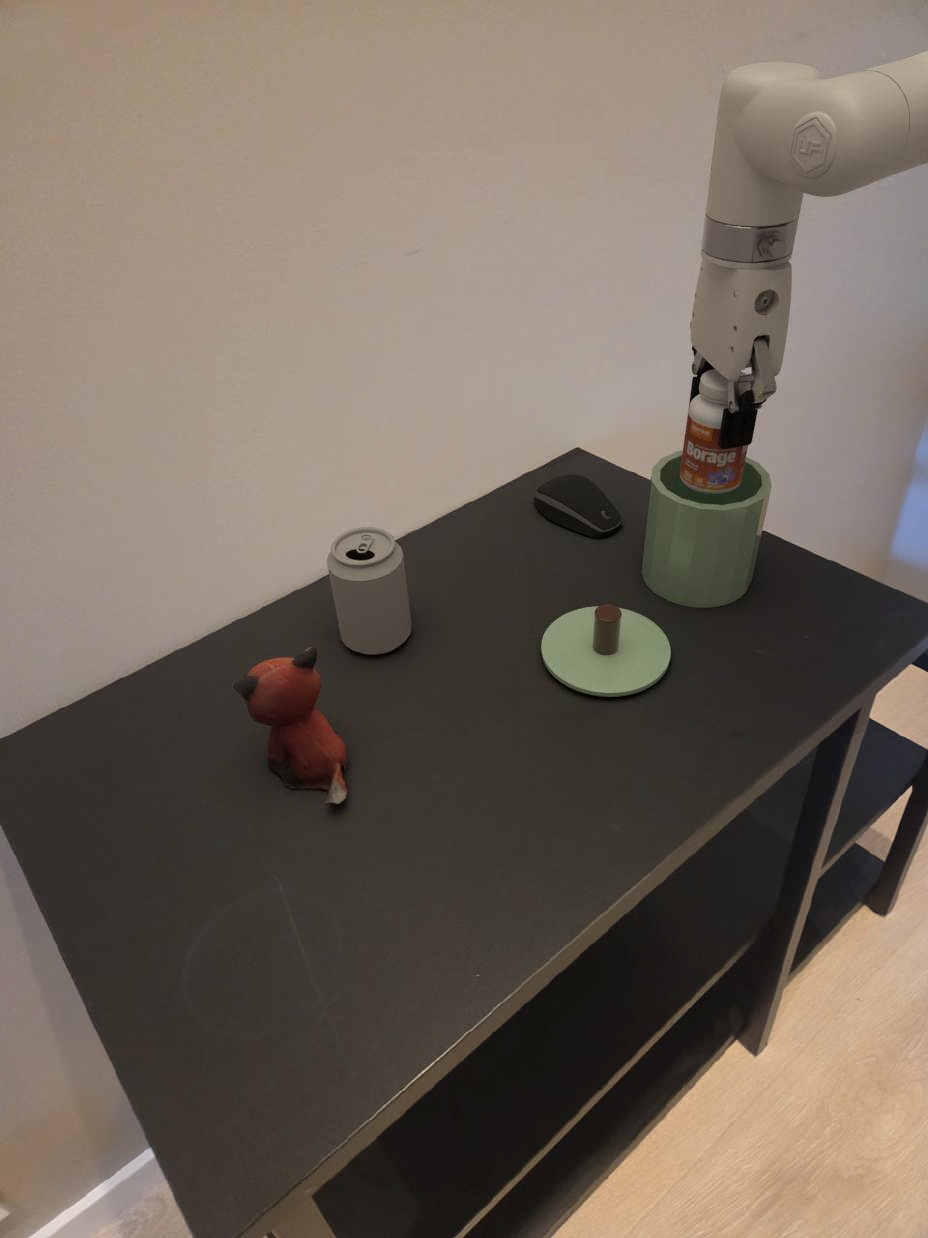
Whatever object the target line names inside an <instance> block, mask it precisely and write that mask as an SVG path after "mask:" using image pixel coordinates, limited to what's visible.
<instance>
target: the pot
mask: <svg viewBox="0 0 928 1238" xmlns="http://www.w3.org/2000/svg"><path fill="white" fill-rule="evenodd" d="M682 453H683V449H682V450H677V451H674V452H672V453H670V454H668V455H666V456H663V457H661V458H659V460H658V461H657V462H656V463H655V465H654V466H653V467H651V473H650V483H649V493H648V494H649V495H648V500H647V501H648V503H647V513H646V519H645V520H646V522H645V530H644V540H643V549H642V558H641V576H642V579H643V582H644V584H645V585H646V586H647V588H648V589H650V591H651V592H653V593H654V594H655V595H657V596H659V598H662V599H663V600H665V601H668V602H670V603H673V604H676V605H679V606H683V607H688V608H697V609H709V608H710V609H711V608H717V607H722V606H727V605H729V604H732V603H734V602H736V601H738V600H739V599H741V598H742V597H743V596H744V595H745V594H746V593H747V591H748V590H749V589H750V585H751V583H752V581H753V576H754V571H755V567H756V563H757V557H758V552H759V549H760V543H761V539H762V533H763V530H764V529H763V528H764V524H765V520H766V515H767V510H768V506H769V501H770V496H771V492H772V488H773V487H772V481H771V475H770V473H769V471H767V470H766V469H765V468H764V467H763V466H762V465H761V464H760V462H758V461H756V460H754V459H752V458H749V457H748V456H746V460H745V465H744V470H743V476H742V480H741V483H740V485H739V486H738V487H737V488H736V489H734V490H733V491H730V492H727V493H723V494H705V493H700V492H696V491H694V490H692V489H690V488H688V487H687V486H686V485H685V484H684V483H683V482H682V480H681V478H680V467H681V460H682Z"/></svg>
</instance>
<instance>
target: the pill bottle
mask: <svg viewBox="0 0 928 1238" xmlns="http://www.w3.org/2000/svg"><path fill="white" fill-rule="evenodd" d="M744 374H746V373H745V372H743V371H741V374H740V375H744ZM747 390H750V382H743V383H739V396H740V395H741V394H743V393H744V392H745V391H747ZM699 392H700V394H699V395H697V396H696V397H695V398H694V399H693V400H692V401H691V403H690V405H689V404H688V409H689V410H688V411H687V416H686V425H685V432H684V437H683V439H684V440H683V445H682V450H683V453H682V460H681V467H680V478H681V480H682V482H683V483H684V484H685V485H686V486H687V487H688V488H690V489H692V490H694V491H696V492H700V493H705V494H723V493H727V492H730V491H733V490H734V489H736V488H737V487H738V486H739V485H740V483H741V480H742V476H743V470H744V465H745V460H746V457H747V454H748V449H749V445H747V446H740V447H734V448H728V449H721V448H720V447H719V445H718V441H719V435H720V428H721V422H722V415H723V409H724V408H728V383H727V378H725V377H724V376H723V375H722V374H720V373H719V372H718V371H717V370H716V369H713V370H709V371H707V372H705V373H704V374H703V375H702V376H701V379H700V385H699Z"/></svg>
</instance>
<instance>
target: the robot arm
mask: <svg viewBox="0 0 928 1238" xmlns="http://www.w3.org/2000/svg"><path fill="white" fill-rule="evenodd" d="M711 156H712V157H711V164H710V171H709V172H710V174H709V181H708V182H709V183H708V188H707V189H708V190H707V198H706V206H705V213H704V221H703V222H704V223H703V228H702V229H703V230H702V231H703V232H702V239H701V248H700V257H701V262H700V267H699V273H698V277H697V282H696V287H695V292H694V300H693V306H692V312H691V321H690V322H689V328H690V342H691V344H692V345H691V351H692V353H693V361H692V364H691V373H692V375H693V376H692V378H691V385H690V395H689V403H688V406H689V405H690V403H691V401H692V400H693V399H694V398H695V397H696V396H697V395H699V394H700V392H699V385H700V379H701V376H702V375H703V374H704V373H705V372H707V371H709V370H713V369H716V370H717V371H718V372H719V373H720V374H722V375H723V376H724V377H725V378H727V383H728V408H724V409H723V415H722V422H721V428H720V435H719V441H718V445H719V447H720V448H721V449H728V448H734V447H740V446H747V445H748V446H750V445H751V444H752V442H753V438H754V434H755V427H756V423H757V416H758V412H759V410H760V409H762V407H763V404H764V403H765V402H766V401H767V400H768V399H769V398H770V397H772V396H773V395H774V394H776V392H777V389H778V388H777V382H776V378H775V377H777V376H778V375H779V374H780V372H781V371H782V367H783V362H784V356H785V349H786V343H787V338H788V337H787V336H788V330H789V323H790V322H789V321H790V313H791V304H792V303H791V302H792V283H793V271H792V270H793V269H792V267H793V266H792V263H791V262H790V261H791V260H792V257H793V251H794V246H795V243H796V242H795V240H796V236H797V231H798V225H799V220H800V215H801V210H802V203H803V200H804V199H803V198H804V195H805V194H806V195H810V196H813V197H819V198H831V197H837V196H842V195H846V194H848V193H851V192H853V191H856V190H859V189H862V188H864V187H866V186H869V185H871V184H874V183H875V182H878V181H881V180H883V179H886V178H889V177H891V176H893V175H897V174H900V173H903V172H906V171H909V170H910V169H915V168H917V167H919V166H923V165H926V164H928V50H926V51H923V52H920V53H918V54H915V55H912V56H909V57H906V58H903V59H900V60H899V59H898V60H895V61H892V62H888V63H883V64H880V65H876V66H872V67H869V68H866V69H862V70H859V71H855V72H851V73H848V74H843V75H839V76H835V77H831V78H824V79H823V78H822V76H821V73H820V72H819V71H818V70H817V69H816V68H815V67H813V66H810V65H808V64H805V63H801V62H800V63H799V62H790V61H765V62H755V63H748V64H744V65H741V66H739V67H736V68H734V69H733V70H732V71H730V72H729V73H728V74H727V76H726V77H725V79H724V80H723V82H722V85H721V89H720V93H719V99H718V107H717V116H716V123H715V132H714V140H713V149H712V155H711ZM748 368H751V373H745V374H744V375H740V374H741V372H742V371H744V370H745V369H748ZM743 382H750V390H747V391H745V392H744V393H743V394H741V395H740V396H739V383H743ZM688 410H689V408H688Z"/></svg>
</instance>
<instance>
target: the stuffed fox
mask: <svg viewBox="0 0 928 1238" xmlns="http://www.w3.org/2000/svg"><path fill="white" fill-rule="evenodd" d="M317 660H318V654H317V648H316V646H313V645H312V646H309V647H307V648H306V649H305V650H303V651H302V652H300V653H298V654H297V655H296V656H295V658H294V657H276V658H271V659H267V660H263V661H261V662H259V663H257V664H256V665H255V666H253V667H252V668H251V669H250V670H249V671H248V673H247V675H244V676H240V677H238V678H236V680H235V681H234V682H232V684H231V689H233V690H234V691H235V692H237V693H238V695H239V696H240V697H241V698H242V699H243V702H244V703H245V706H246V708H247V711H248V714H249V716H250V718H251V720H253V721H254V722H256V723H259V724H260V725H264V726H269V727H271V728H270V732H269V735H268V741H267V763H266V764H265V765H266V766H267V768H270V769H271V770H272V771H273V772H275V773H276V775H278V776H279V777H280V779H281V781H282V784H283V786H284V787H287V788H288V789H290V790H293V789H297V790H306V789H310V790H324V791H327V794H326V799H325V802H324V804H325V805H326V804H333V805H334V804H335V805H339V804H341V803H342V802H343V801H345V800H346V798H347V795H348V791H349V790H348V788H347V786H346V785H345V784H346V782H345V780H344V778H343V771H342V767H343V769H344V770H346V764H347V762H348V759H347V756H348V755H347V754H348V753H347V748H346V744H345V741H344V739H343V738H342V737H341V736H340V735H339V734H338V733H337V731H335V730H334V728H333V727H332V726H331V723H329V721H328V720H327V718H326V717H325V715H324V714H323V713H322V712H321V710H320V709H319V708H318V707H316V703H317V701H318V698H319V696H320V692H321V689H322V680H321V679H322V678H321V676H320V674H319V672H317V669H315V665H316V664H317Z"/></svg>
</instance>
